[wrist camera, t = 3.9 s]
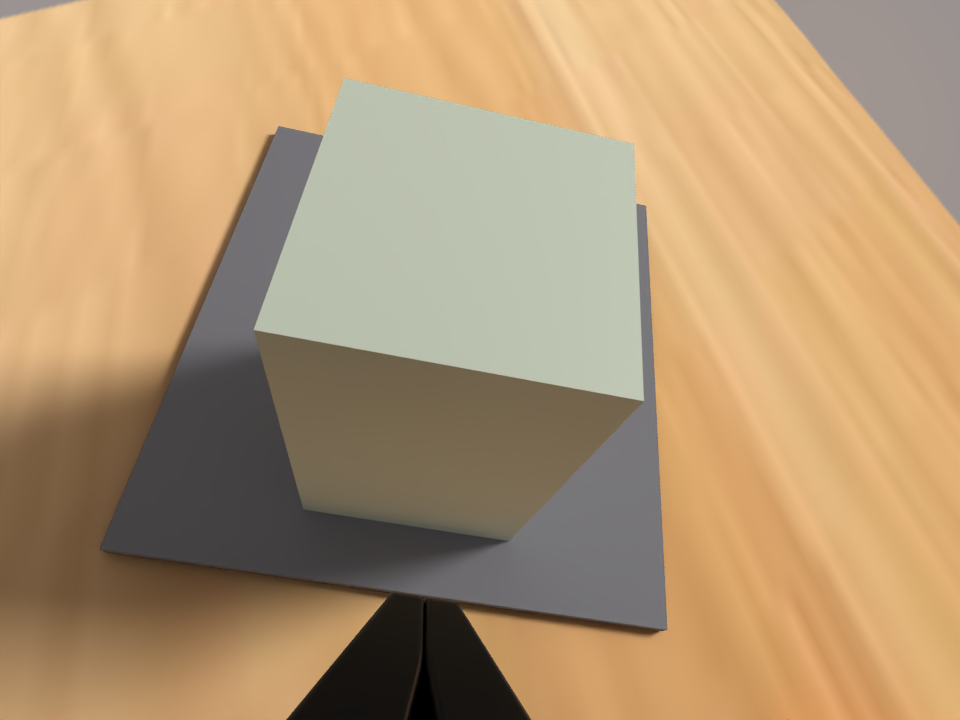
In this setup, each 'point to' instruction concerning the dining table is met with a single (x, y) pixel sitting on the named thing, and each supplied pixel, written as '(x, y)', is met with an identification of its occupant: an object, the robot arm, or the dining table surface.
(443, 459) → the sage block
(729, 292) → the dining table surface
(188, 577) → the dining table surface
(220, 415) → the rubber mat
